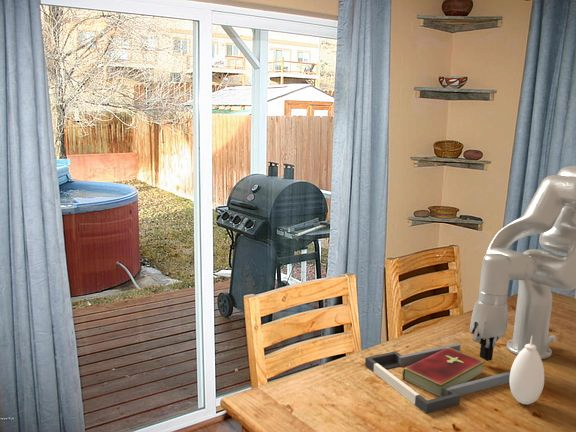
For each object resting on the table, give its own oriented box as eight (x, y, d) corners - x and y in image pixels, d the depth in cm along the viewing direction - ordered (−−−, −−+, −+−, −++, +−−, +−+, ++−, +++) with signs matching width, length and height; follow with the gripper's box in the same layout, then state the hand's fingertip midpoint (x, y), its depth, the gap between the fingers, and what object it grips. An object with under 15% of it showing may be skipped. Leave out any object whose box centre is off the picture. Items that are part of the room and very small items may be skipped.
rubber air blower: (512, 391, 139) (520, 326, 136) (544, 401, 134) (553, 335, 131) (502, 403, 133) (510, 336, 130) (536, 414, 128) (544, 345, 125)
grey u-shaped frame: (450, 347, 164) (450, 339, 164) (519, 387, 141) (520, 378, 141) (365, 365, 151) (365, 357, 151) (426, 413, 128) (426, 404, 127)
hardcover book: (402, 380, 144) (403, 366, 143) (446, 358, 158) (447, 345, 157) (440, 399, 135) (441, 384, 134) (483, 374, 149) (484, 360, 148)
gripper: (501, 290, 156) (494, 349, 159) (462, 296, 149) (456, 357, 153) (522, 299, 149) (514, 359, 153) (482, 305, 143) (475, 368, 146)
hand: (485, 358), depth 153 cm, fingers closed
